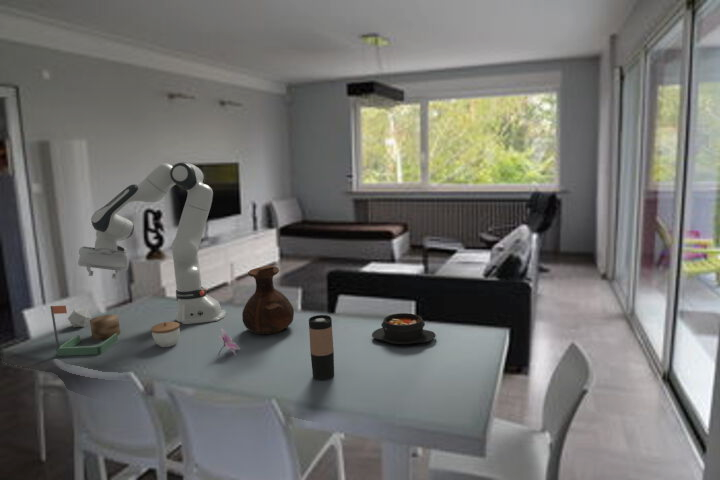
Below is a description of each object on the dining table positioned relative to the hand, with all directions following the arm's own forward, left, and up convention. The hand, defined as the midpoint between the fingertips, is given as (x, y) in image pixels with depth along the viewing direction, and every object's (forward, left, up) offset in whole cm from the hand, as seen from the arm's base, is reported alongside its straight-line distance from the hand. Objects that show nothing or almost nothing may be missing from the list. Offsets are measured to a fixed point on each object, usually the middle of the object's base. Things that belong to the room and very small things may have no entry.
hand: (102, 276), depth 223 cm
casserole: (-130, +29, -24) cm, 136 cm away
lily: (-64, +36, -24) cm, 77 cm away
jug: (-74, +12, -24) cm, 79 cm away
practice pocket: (-3, +24, -24) cm, 34 cm away
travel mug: (-101, +59, -24) cm, 120 cm away
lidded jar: (-35, +24, -24) cm, 49 cm away
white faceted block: (+16, -4, -24) cm, 29 cm away
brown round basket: (-3, +10, -24) cm, 26 cm away
